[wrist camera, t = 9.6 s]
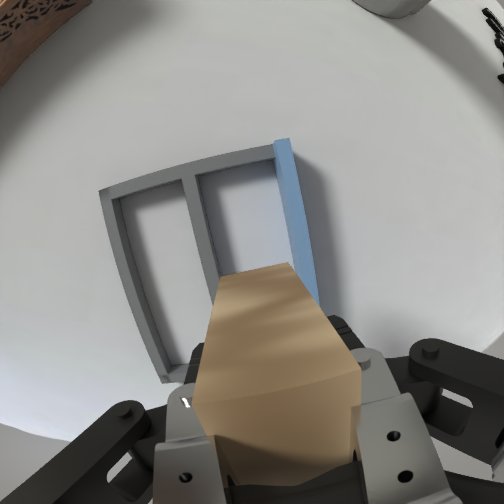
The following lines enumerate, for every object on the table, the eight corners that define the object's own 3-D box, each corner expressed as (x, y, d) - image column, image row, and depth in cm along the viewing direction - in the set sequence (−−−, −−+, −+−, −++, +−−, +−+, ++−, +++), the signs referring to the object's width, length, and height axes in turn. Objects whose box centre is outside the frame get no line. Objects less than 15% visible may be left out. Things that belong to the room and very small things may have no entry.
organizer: (282, 145, 21) (289, 138, 18) (318, 347, 24) (326, 364, 21) (106, 190, 21) (89, 190, 18) (165, 374, 24) (158, 393, 21)
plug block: (288, 262, 12) (361, 368, 4) (303, 356, 13) (353, 488, 5) (220, 276, 12) (191, 403, 4) (245, 369, 13) (250, 510, 5)
